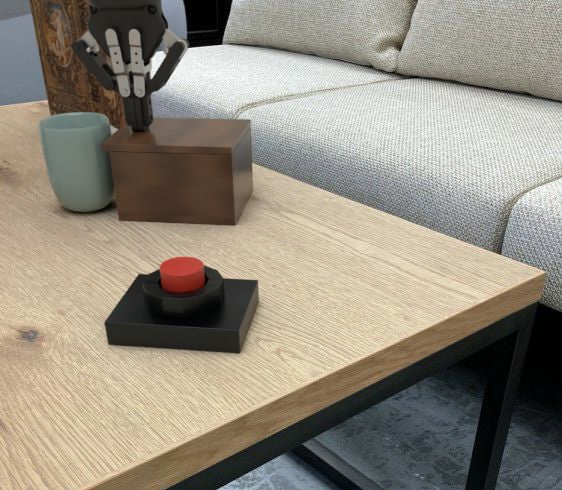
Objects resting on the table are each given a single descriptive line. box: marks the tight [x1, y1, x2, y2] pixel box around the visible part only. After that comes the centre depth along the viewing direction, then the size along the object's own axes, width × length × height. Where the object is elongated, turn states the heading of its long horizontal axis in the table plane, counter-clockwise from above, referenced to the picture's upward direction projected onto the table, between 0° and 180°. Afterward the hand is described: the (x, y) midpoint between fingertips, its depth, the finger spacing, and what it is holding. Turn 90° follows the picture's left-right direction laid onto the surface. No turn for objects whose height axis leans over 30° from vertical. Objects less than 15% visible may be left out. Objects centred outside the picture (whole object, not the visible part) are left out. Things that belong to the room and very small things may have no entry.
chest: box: [109, 126, 254, 226], centre depth 82 cm, size 14×12×8 cm
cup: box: [37, 112, 115, 213], centre depth 81 cm, size 8×8×10 cm
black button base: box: [104, 265, 260, 354], centre depth 59 cm, size 11×9×4 cm
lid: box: [101, 116, 252, 155], centre depth 79 cm, size 14×12×1 cm
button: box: [159, 256, 205, 292], centre depth 58 cm, size 4×4×2 cm
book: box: [28, 0, 126, 129], centre depth 105 cm, size 16×6×25 cm, turn 42°
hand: (140, 129), depth 80 cm, fingers closed
